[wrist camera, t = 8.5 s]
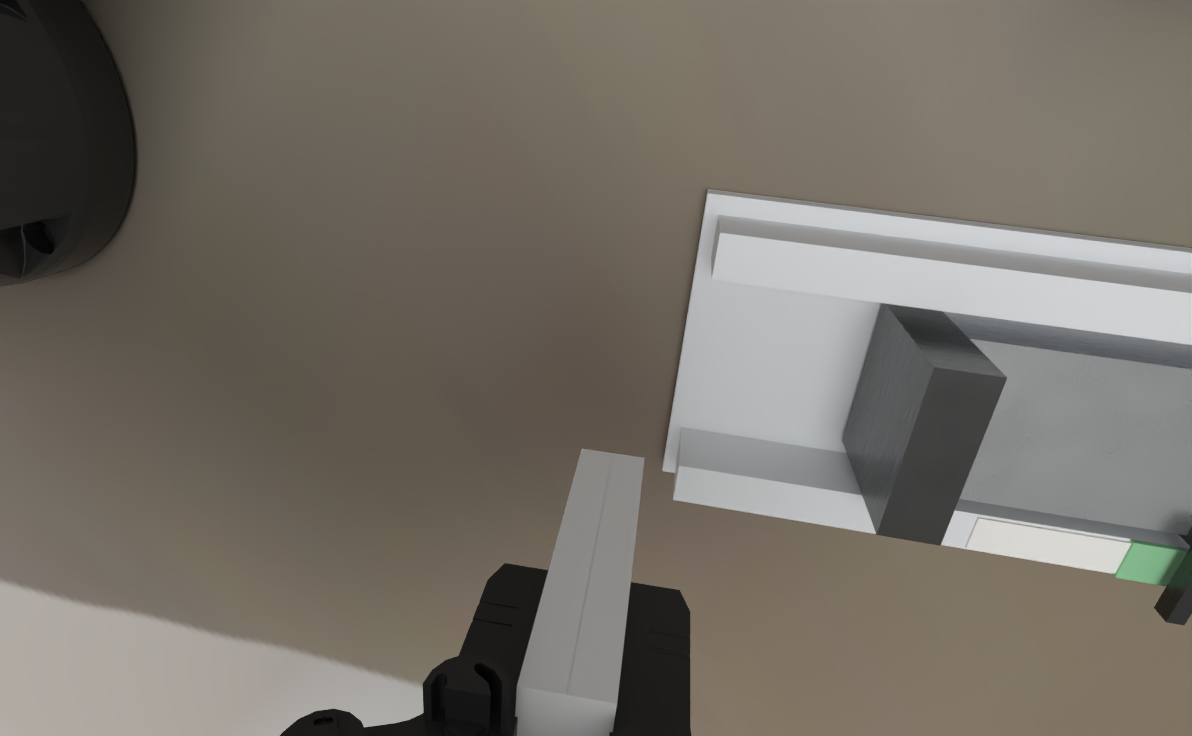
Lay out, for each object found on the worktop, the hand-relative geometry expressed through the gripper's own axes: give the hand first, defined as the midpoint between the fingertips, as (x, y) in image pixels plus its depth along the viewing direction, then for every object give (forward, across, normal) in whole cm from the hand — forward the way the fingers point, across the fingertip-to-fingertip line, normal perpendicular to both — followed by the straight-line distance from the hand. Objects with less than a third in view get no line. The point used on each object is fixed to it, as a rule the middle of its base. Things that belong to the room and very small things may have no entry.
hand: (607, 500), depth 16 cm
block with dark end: (+11, +15, -2) cm, 19 cm away
